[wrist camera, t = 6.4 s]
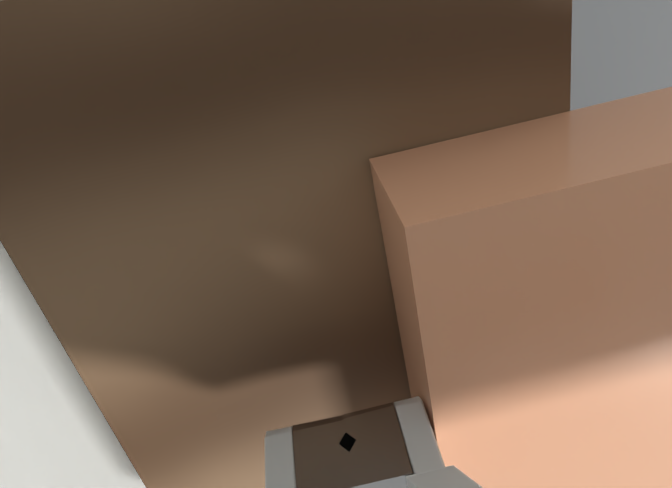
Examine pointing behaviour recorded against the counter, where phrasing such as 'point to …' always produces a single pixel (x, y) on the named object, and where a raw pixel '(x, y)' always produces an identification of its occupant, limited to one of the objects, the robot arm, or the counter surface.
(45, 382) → the counter surface
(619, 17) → the mat
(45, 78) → the deck
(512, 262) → the tile
